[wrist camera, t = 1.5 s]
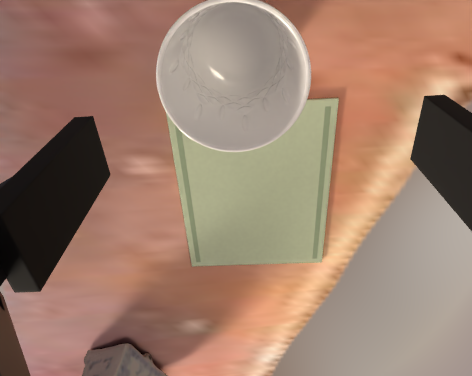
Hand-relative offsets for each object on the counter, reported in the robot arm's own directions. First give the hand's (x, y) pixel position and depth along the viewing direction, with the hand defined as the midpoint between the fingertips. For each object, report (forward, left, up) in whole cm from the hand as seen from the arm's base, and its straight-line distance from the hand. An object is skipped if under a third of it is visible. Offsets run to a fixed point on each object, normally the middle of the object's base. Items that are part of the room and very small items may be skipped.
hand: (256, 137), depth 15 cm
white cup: (-1, -1, -15) cm, 15 cm away
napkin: (+13, 0, -15) cm, 19 cm away
